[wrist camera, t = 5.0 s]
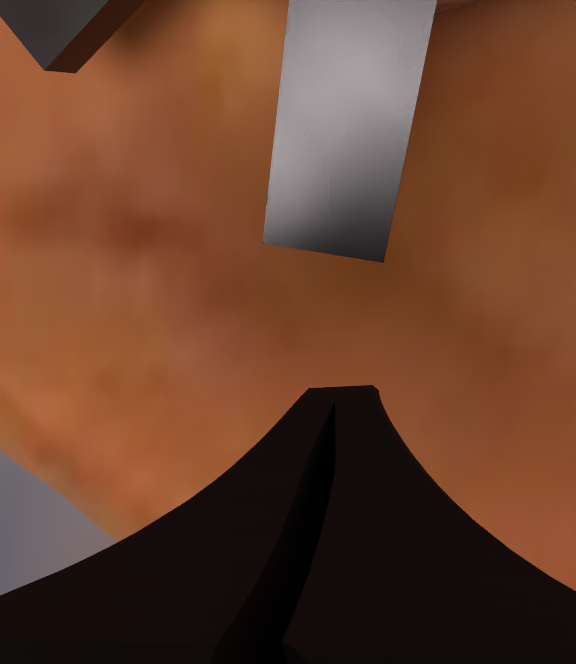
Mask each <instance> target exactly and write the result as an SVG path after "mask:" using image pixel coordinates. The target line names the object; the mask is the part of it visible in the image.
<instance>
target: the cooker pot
mask: <svg viewBox="0 0 576 664" xmlns="http://www.w3.org/2000/svg"><path fill="white" fill-rule="evenodd" d="M144 1H145V0H0V16H1V18H2V19H3V20H4V21H5V23H6V24H7V25H8V26H9V28H10V29H11V30H12V31H13V33H14V34H15V35H16V36H17V38H18V39H19V40H20V41H21V42H22V44H23V45H24V46H25V47H26V49H27V50H28V51H29V52H30V54H31V55H32V56H33V57H34V59H35V60H36V61H37V62H38V63H39V65H40V66H41V67H42V68H43V70H45V71H56V72H66V73H76V72H77V71H78V70H79V69H80V68H81V67H82V66H83V65H84V64H85V63H86V62H87V61H88V60H89V59H90V58H91V57H92V56H93V55H94V54H95V53H96V51H97V50H98V49H99V48H100V47H101V46H102V45H103V44H104V43H105V42H106V41H107V40H108V39H109V38H110V37H111V36H112V35H113V34H114V33H115V32H116V31H117V29H118V28H119V27H120V26H121V25H122V24H123V23H124V22H125V21H126V20H127V19H128V18H129V17H130V16H131V15H132V14H133V13H134V12H135V11H136V10H137V9H138V7H139V6H140V5H141V4H142V3H143V2H144ZM478 1H481V0H472V1H467V2H457V3H447V4H437V5H436V8H435V13H439V12H443V11H447V10H452V9H456V8H460V7H464V6H468V5H471V4H473V3H476V2H478Z"/></svg>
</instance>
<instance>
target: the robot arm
mask: <svg viewBox="0 0 576 664" xmlns="http://www.w3.org/2000/svg"><path fill="white" fill-rule="evenodd" d="M0 664H576V591H574V590H573V589H571V588H569V587H567V586H566V585H564V584H562V583H560V582H559V581H557V580H555V579H553V578H552V577H550V576H549V575H547V574H546V573H544V572H543V571H541V570H540V569H538V568H537V567H535V566H534V565H532V564H531V563H529V562H528V561H526V560H525V559H524V558H522V557H521V556H519V555H518V554H516V553H515V552H513V551H512V550H510V549H509V548H508V547H507V546H505V545H504V544H503V543H502V542H500V541H499V540H498V539H497V538H495V537H494V536H493V535H492V534H490V533H489V532H488V531H487V530H485V529H484V528H483V527H482V526H480V525H479V524H478V523H477V522H475V521H474V520H473V519H472V518H471V517H470V516H469V515H468V514H467V513H466V512H465V511H463V510H462V509H461V508H460V507H459V506H458V505H457V504H456V503H455V502H454V501H453V500H452V499H451V498H450V497H449V496H448V495H447V494H446V493H445V492H444V491H443V490H442V489H441V488H440V487H439V486H438V485H437V483H436V482H435V481H434V480H433V479H432V478H431V477H430V475H429V474H428V473H427V472H426V471H425V470H424V468H423V467H422V466H421V464H420V463H419V462H418V461H417V459H416V458H415V457H414V456H413V454H412V453H411V452H410V450H409V449H408V447H407V446H406V445H405V443H404V442H403V440H402V438H401V437H400V435H399V434H398V432H397V431H396V429H395V427H394V426H393V424H392V422H391V421H390V419H389V417H388V415H387V413H386V411H385V409H384V407H383V405H382V402H381V399H380V396H379V390H378V389H376V388H375V387H374V386H373V385H365V386H344V387H324V388H308V390H307V391H306V392H305V393H304V394H303V395H302V396H301V397H300V398H299V399H298V400H297V401H296V402H295V403H294V405H293V406H292V407H291V408H290V409H289V410H288V411H287V412H286V414H285V415H284V416H283V417H282V418H281V419H280V420H279V421H278V422H277V423H276V424H275V426H274V427H273V428H272V429H271V430H270V431H269V432H268V433H267V434H266V435H265V436H264V437H263V438H262V439H261V440H260V441H259V442H258V443H257V444H256V445H255V446H254V447H253V448H251V449H250V450H249V451H248V452H247V453H246V454H245V455H244V456H243V457H242V458H241V459H240V460H238V461H237V462H236V463H235V464H234V465H233V466H232V467H231V468H230V469H228V470H227V471H226V472H225V473H224V474H222V475H221V476H220V477H219V478H217V479H216V480H215V481H214V482H212V483H211V484H209V485H208V486H207V487H205V488H204V489H203V490H201V491H200V492H199V493H197V494H196V495H195V496H193V497H192V498H190V499H189V500H187V501H186V502H185V503H183V504H181V505H180V506H178V507H177V508H175V509H173V510H172V511H170V512H169V513H167V514H165V515H164V516H162V517H161V518H159V519H157V520H156V521H154V522H152V523H151V524H149V525H148V526H146V527H144V528H143V529H141V530H140V531H138V532H136V533H134V534H132V535H131V536H129V537H127V538H125V539H123V540H121V541H119V542H118V543H116V544H114V545H112V546H110V547H108V548H106V549H104V550H102V551H100V552H98V553H96V554H94V555H92V556H90V557H88V558H86V559H84V560H82V561H80V562H78V563H76V564H74V565H71V566H69V567H67V568H65V569H63V570H61V571H58V572H56V573H53V574H51V575H49V576H46V577H44V578H41V579H39V580H37V581H34V582H32V583H29V584H27V585H25V586H22V587H20V588H17V589H15V590H12V591H10V592H8V593H5V594H3V595H0Z"/></svg>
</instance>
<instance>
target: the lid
mask: <svg viewBox="0 0 576 664" xmlns="http://www.w3.org/2000/svg"><path fill="white" fill-rule="evenodd" d="M467 1H472V0H289V7H288V16H287V25H286V34H285V43H284V52H283V62H282V71H281V80H280V89H279V98H278V107H277V116H276V125H275V134H274V143H273V152H272V161H271V170H270V179H269V188H268V198H267V207H266V216H265V225H264V234H263V243H267V244H273V245H279V246H285V247H291V248H297V249H303V250H309V251H315V252H322V253H328V254H334V255H340V256H346V257H352V258H358V259H364V260H371V261H377V262H384V257H385V252H386V247H387V243H388V238H389V233H390V228H391V223H392V218H393V213H394V208H395V204H396V199H397V194H398V189H399V184H400V179H401V174H402V169H403V164H404V160H405V155H406V150H407V145H408V140H409V135H410V130H411V125H412V120H413V116H414V111H415V106H416V101H417V96H418V91H419V86H420V81H421V77H422V72H423V67H424V62H425V57H426V52H427V47H428V42H429V37H430V33H431V28H432V23H433V18H434V13H435V8H436V5H437V4H447V3H457V2H467Z"/></svg>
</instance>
